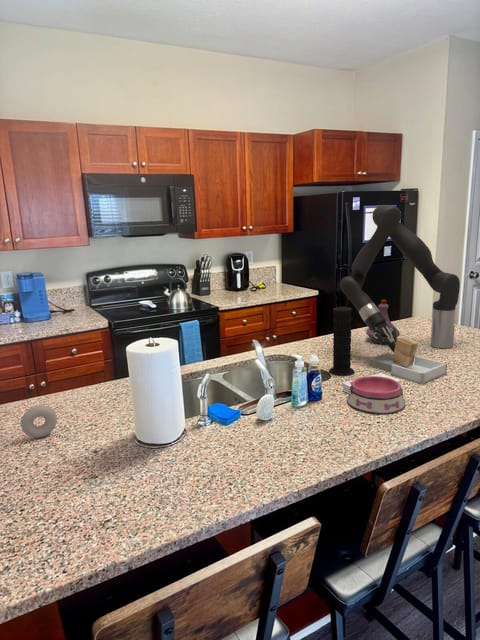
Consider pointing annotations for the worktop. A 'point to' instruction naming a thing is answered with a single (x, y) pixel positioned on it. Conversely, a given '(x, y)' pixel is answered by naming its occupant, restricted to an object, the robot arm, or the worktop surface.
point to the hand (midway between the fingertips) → (396, 351)
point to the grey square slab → (384, 362)
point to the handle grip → (342, 342)
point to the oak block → (404, 351)
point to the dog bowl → (376, 395)
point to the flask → (383, 310)
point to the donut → (32, 415)
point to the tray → (420, 370)
